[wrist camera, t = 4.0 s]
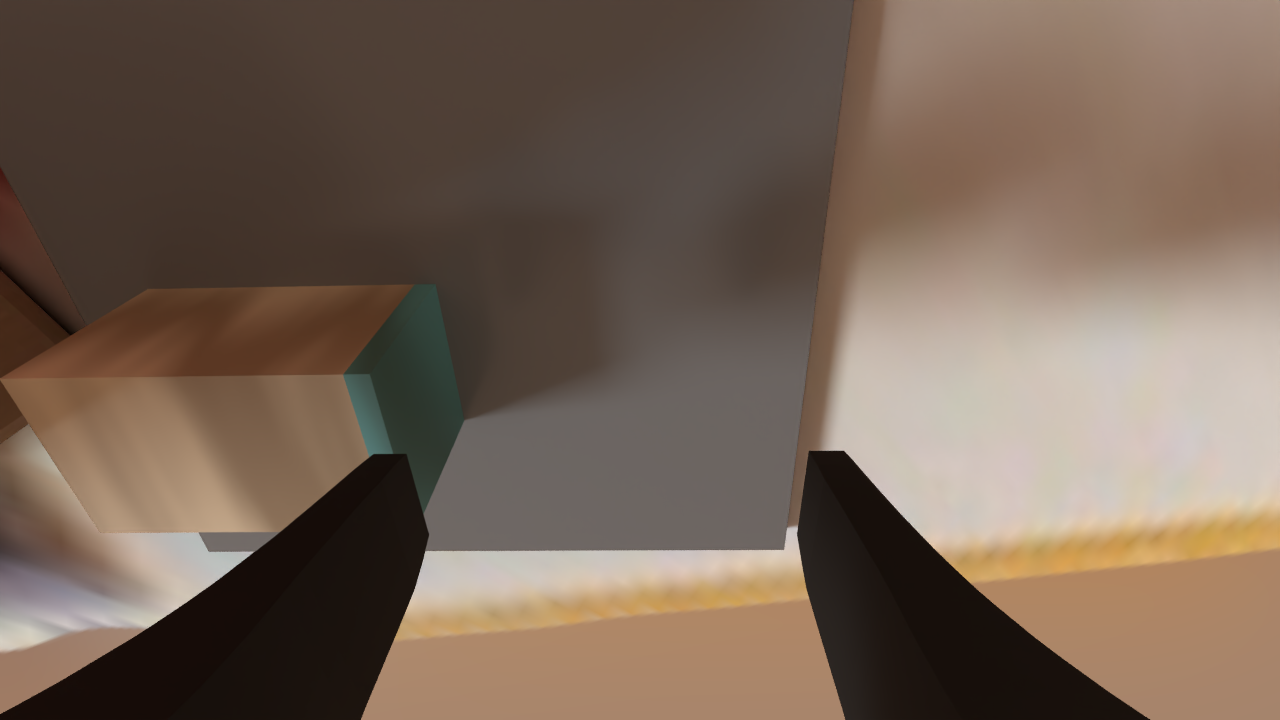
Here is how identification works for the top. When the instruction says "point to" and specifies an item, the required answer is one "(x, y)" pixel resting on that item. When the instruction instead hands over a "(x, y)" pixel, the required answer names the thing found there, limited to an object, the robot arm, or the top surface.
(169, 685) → the robot arm
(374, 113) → the slate board
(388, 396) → the beech block
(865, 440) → the top surface
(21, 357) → the block
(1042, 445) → the top surface
